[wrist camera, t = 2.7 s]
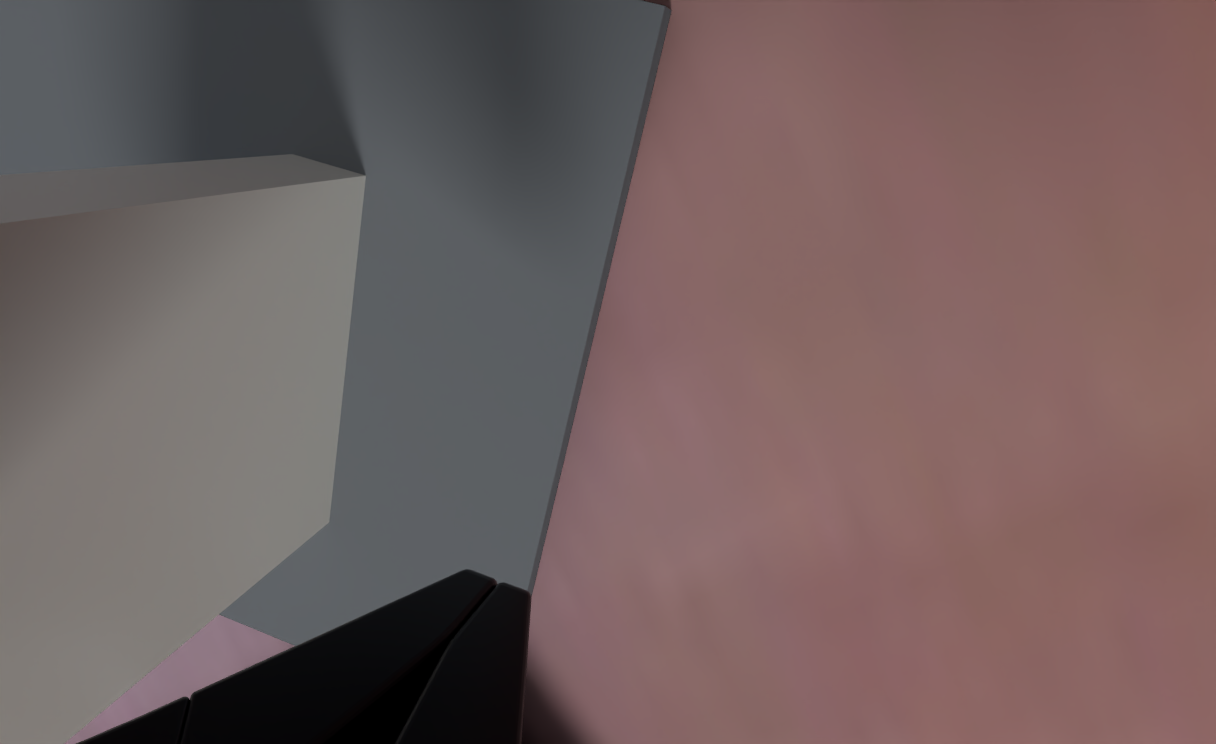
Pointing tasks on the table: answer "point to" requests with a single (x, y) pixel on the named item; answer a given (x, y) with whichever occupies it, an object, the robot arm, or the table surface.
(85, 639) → the glazed tile
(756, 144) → the table surface
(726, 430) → the table surface
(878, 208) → the table surface
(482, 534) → the rubber mat
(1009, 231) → the table surface
